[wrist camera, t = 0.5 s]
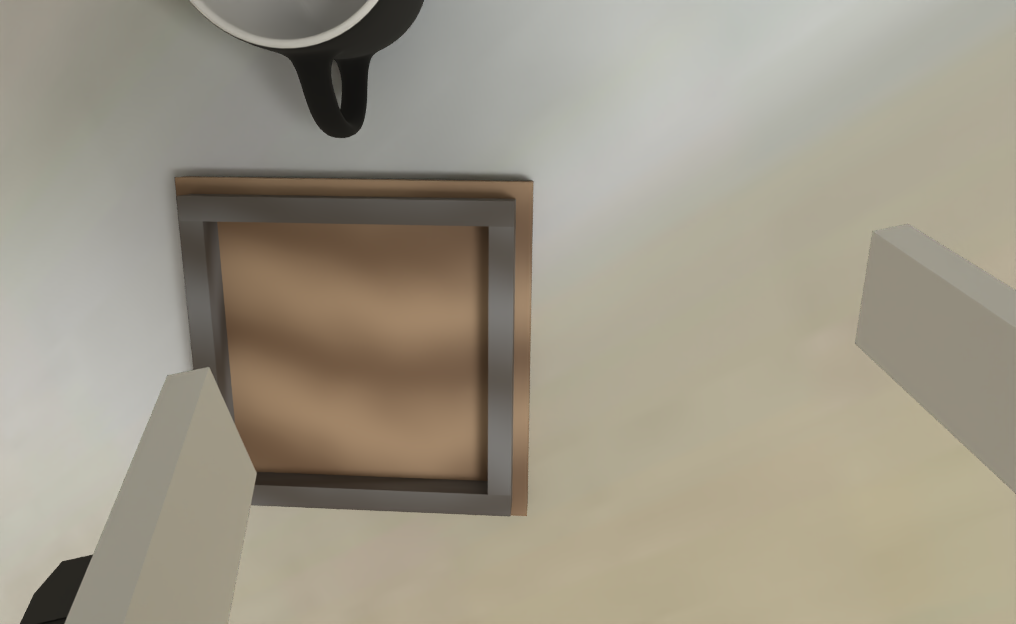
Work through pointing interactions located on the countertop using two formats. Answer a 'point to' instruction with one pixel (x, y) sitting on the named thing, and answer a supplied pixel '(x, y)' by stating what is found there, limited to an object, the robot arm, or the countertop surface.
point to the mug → (320, 45)
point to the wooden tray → (367, 336)
